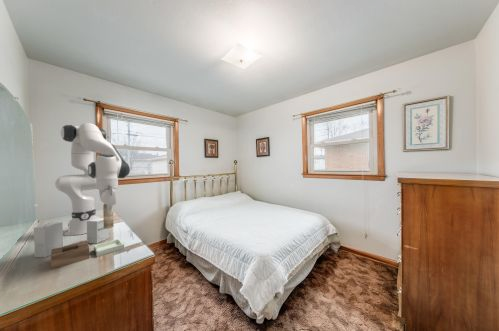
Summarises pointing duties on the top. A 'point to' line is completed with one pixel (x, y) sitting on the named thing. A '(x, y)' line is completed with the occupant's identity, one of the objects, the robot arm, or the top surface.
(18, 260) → the top surface
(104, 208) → the beech dowel
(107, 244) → the sage tray
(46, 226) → the skincare box
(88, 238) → the supplement box
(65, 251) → the walnut hole block
